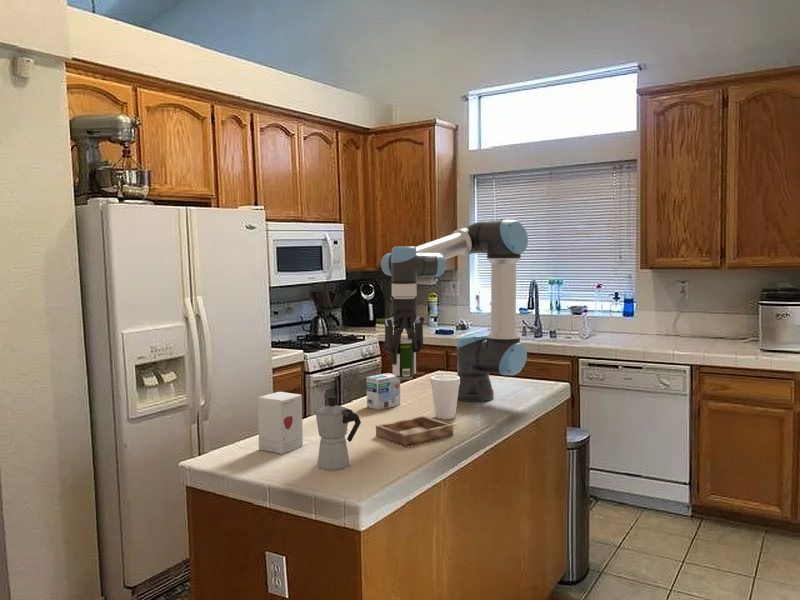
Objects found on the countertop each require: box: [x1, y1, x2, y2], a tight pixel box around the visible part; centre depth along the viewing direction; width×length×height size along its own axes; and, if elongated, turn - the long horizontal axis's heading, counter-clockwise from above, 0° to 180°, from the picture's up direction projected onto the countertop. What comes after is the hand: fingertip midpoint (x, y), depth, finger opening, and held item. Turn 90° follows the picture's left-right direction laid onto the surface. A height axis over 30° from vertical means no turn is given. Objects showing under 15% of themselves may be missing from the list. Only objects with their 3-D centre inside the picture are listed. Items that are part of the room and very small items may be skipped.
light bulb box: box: [366, 372, 401, 410], centre depth 232 cm, size 11×7×11 cm, turn 132°
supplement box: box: [257, 391, 304, 455], centre depth 184 cm, size 9×9×15 cm
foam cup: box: [430, 374, 460, 420], centre depth 217 cm, size 10×9×13 cm
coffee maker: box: [312, 395, 362, 472], centre depth 169 cm, size 15×9×18 cm, turn 58°
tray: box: [375, 415, 454, 448], centre depth 195 cm, size 18×14×3 cm
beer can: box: [395, 337, 414, 381], centre depth 199 cm, size 5×5×12 cm
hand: (404, 373), depth 200 cm, fingers closed on beer can, 5 cm apart
